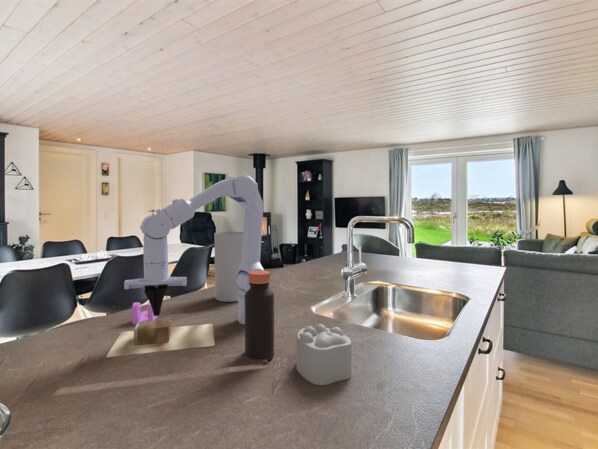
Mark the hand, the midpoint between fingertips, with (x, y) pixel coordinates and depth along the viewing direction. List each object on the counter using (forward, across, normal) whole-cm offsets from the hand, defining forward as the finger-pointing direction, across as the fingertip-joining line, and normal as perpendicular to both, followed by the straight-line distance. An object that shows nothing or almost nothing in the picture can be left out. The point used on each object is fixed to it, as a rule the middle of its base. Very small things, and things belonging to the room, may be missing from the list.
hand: (157, 314), depth 87 cm
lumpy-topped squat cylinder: (+8, -36, +24) cm, 44 cm away
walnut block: (+4, -3, 0) cm, 5 cm away
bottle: (+8, -24, +15) cm, 29 cm away
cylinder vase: (+8, -22, -38) cm, 45 cm away
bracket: (+8, +5, -20) cm, 22 cm away
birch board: (+7, -2, 0) cm, 8 cm away
